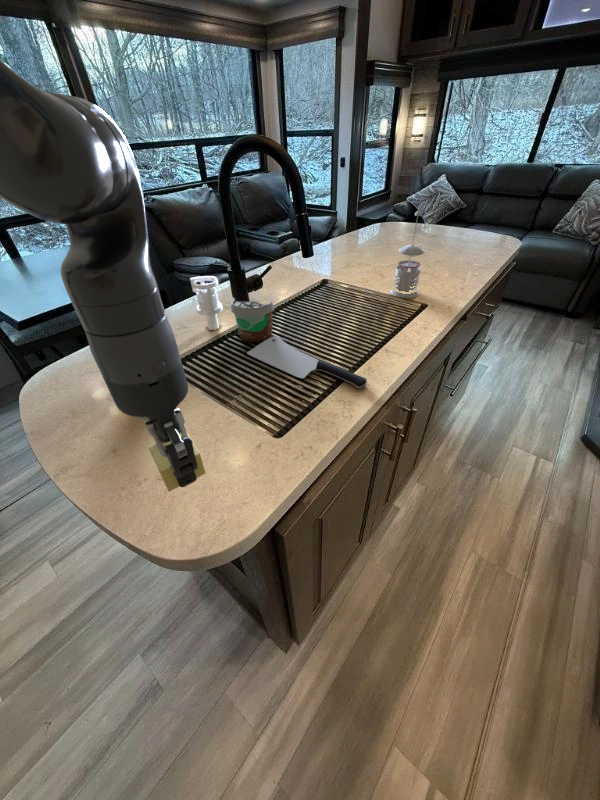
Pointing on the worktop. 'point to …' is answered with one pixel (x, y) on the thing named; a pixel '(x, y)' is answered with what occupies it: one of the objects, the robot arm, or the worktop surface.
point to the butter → (164, 465)
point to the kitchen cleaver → (299, 361)
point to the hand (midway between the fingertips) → (180, 468)
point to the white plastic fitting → (207, 299)
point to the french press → (404, 276)
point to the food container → (253, 320)
